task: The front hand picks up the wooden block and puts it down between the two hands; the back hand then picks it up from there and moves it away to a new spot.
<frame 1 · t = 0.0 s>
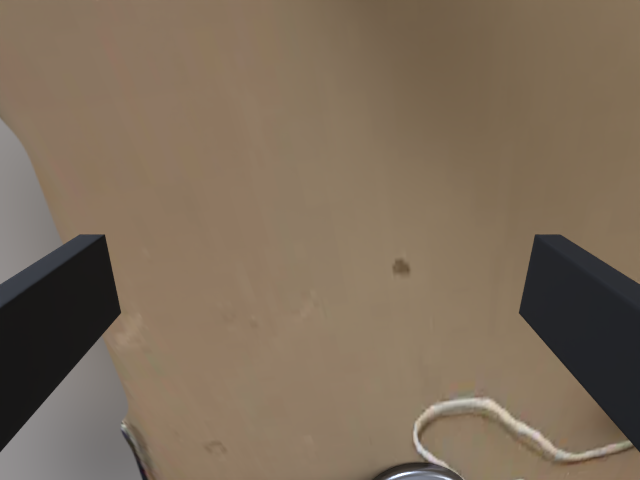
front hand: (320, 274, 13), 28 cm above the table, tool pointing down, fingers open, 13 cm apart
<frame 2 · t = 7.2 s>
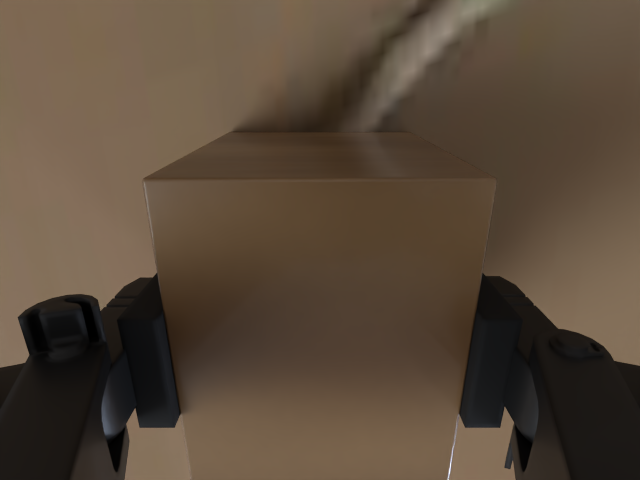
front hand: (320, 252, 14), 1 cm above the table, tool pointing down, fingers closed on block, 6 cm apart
block: (319, 240, 15), on the table, touching front hand
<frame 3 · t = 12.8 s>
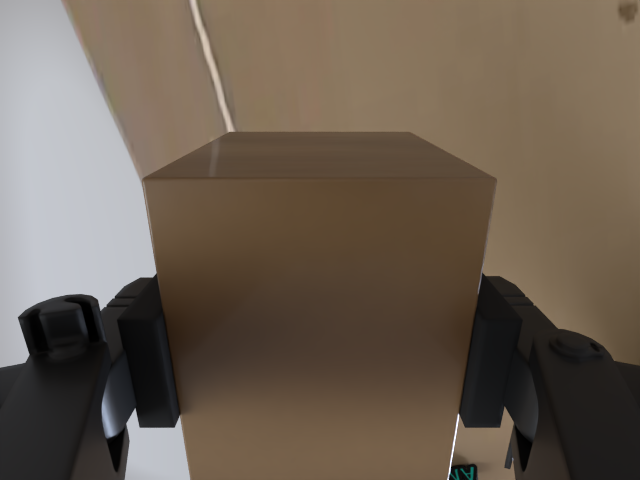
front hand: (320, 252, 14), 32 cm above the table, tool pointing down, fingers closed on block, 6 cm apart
decorative sign: (414, 476, 63), on the table
block: (319, 240, 15), point 31 cm above the table, touching front hand
when the front hand's fingers open (2 cm above the table, at t = 18.5 s): block drops 1 cm, on the table.
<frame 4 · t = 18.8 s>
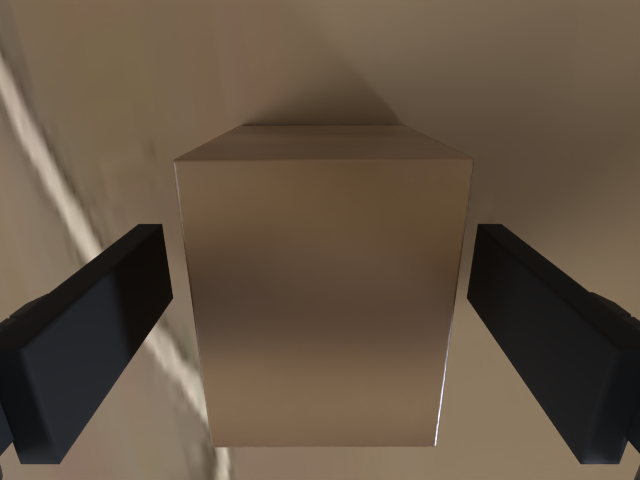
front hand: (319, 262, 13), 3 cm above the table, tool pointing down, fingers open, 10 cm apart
block: (322, 226, 17), on the table
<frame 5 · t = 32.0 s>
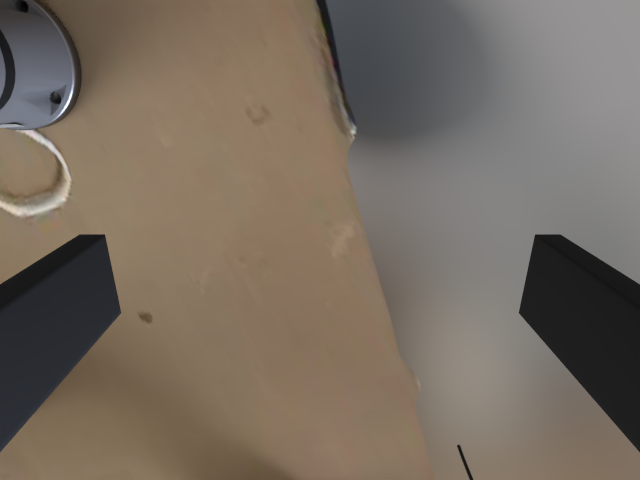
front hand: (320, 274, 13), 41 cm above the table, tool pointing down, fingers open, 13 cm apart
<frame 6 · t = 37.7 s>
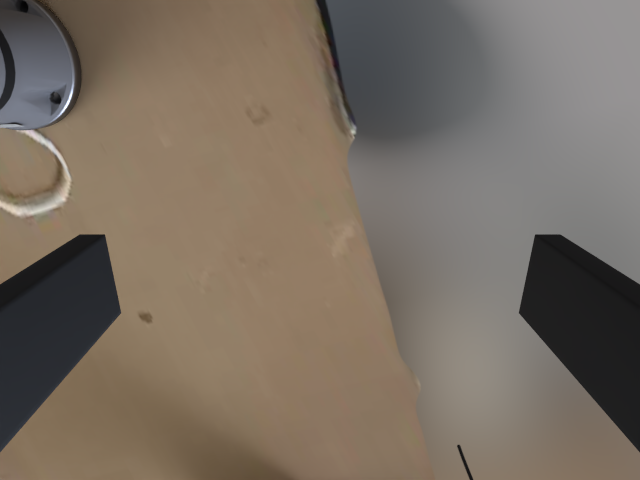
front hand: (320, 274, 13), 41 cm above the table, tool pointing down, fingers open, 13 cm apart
when the back hand's fingers open (2 cm above the table, at t = 43.4 s): block drops 1 cm, on the table.
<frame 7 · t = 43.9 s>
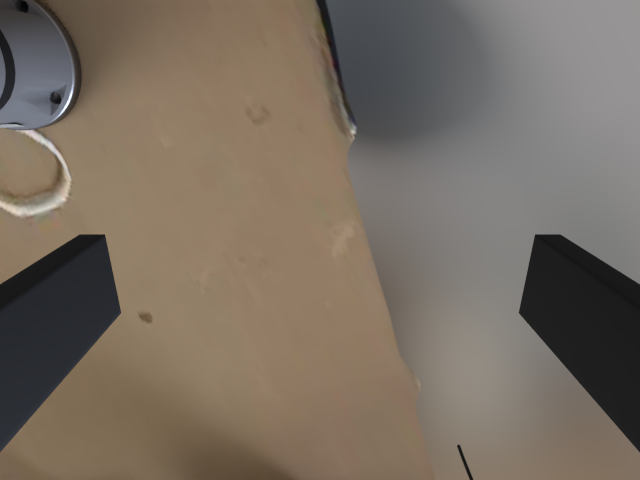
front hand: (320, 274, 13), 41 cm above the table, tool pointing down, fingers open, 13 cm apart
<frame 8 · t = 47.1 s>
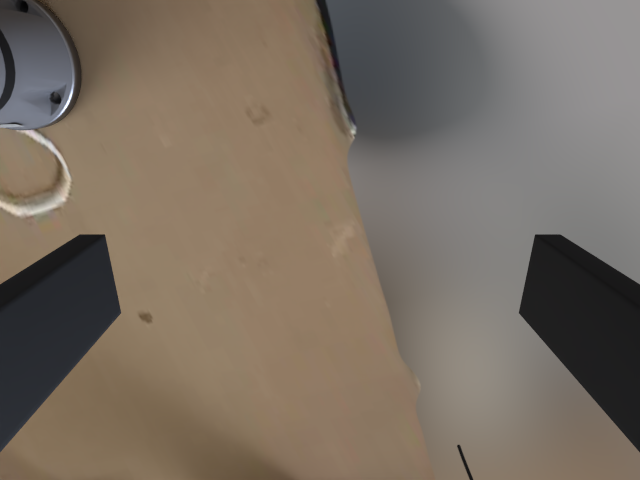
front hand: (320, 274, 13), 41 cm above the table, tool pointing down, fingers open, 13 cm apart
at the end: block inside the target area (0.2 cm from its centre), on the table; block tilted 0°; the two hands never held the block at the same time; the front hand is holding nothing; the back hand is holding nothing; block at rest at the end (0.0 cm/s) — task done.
